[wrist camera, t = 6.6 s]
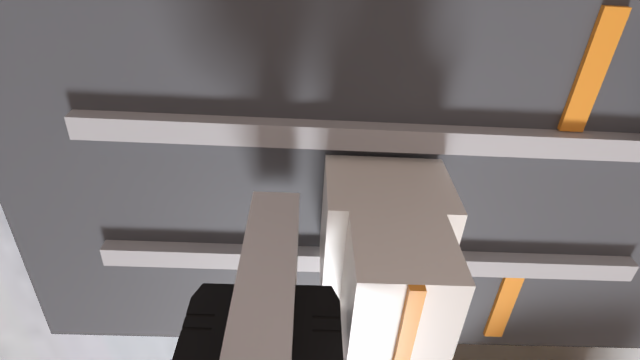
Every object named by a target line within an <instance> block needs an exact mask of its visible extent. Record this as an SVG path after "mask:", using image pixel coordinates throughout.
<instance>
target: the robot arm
mask: <svg viewBox="0 0 640 360" xmlns="http://www.w3.org/2000/svg"><path fill="white" fill-rule="evenodd" d="M299 199H300V193H284V192H256V191H253V195H252V200H251V205H250V210H249V215H248V220H247V225H246V230H245V235H244V240H243V245H242V250H241V255H240V260H239V265H238V270H237V275H236V280H235V284H214V283H203V284H202V285H201V286H200V287H199V288H198V290H197V291H196V292H195V293H194V294H193V295H192V297H191V299H190V302H189V306H188V309H187V312H186V317H185V319H184V322H183V326H182V331H181V332H180V336H179V339H178V342H177V346H176V349H175V352H174V355H173V359H172V360H343V344H342V327H341V310H340V300H339V298H338V296H337V294H336V293H335V291H334V289H333V287H332V286H321V285H296V283H297V262H298V232H299Z"/></svg>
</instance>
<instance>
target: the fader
mask: <svg viewBox="0 0 640 360" xmlns="http://www.w3.org/2000/svg"><path fill="white" fill-rule="evenodd" d="M467 216H468V215H467V213H466V210H465V208H464V206H463V204H462V202H461V200H460V197H459V195H458V193H457V191H456V189H455V187H454V185H453V182H452V180H451V178H450V176H449V174H448V172H447V169H446V167H445V165H444V163H443V161H442V159H424V158H399V157H373V156H348V155H325V170H324V185H323V200H322V215H321V230H320V285H321V286H332V287H333V289H334V291H335V293H336V294H337V296H338V298H339V300H340V310H341V327H342V344H343V360H452V359H453V356H454V353H455V350H456V347H457V344H458V341H459V337H460V334H461V331H462V328H463V325H464V322H465V319H466V316H467V313H468V310H469V306H470V303H471V300H472V297H473V294H474V291H475V288H476V285H475V283H474V280H473V278H472V275H471V273H470V270H469V268H468V265H467V263H466V260H465V258H464V256H463V253H462V251H461V248H460V246H459V245H460V242H461V238H462V234H463V231H464V227H465V224H466V220H467Z"/></svg>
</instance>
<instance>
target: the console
mask: <svg viewBox="0 0 640 360" xmlns="http://www.w3.org/2000/svg"><path fill="white" fill-rule="evenodd" d="M325 155H348V156H373V157H399V158H424V159H442V161H443V163H444V165H445V167H446V169H447V172H448V174H449V176H450V178H451V180H452V182H453V185H454V187H455V189H456V191H457V193H458V195H459V197H460V200H461V202H462V204H463V206H464V208H465V210H466V213H467V215H468V216H467V220H466V224H465V227H464V231H463V234H462V238H461V242H460V245H459V246H460V248H461V251H462V253H463V256H464V258H465V260H466V263H467V265H468V268H469V270H470V273H471V275H472V278H473V280H474V283H475V285H476V288H475V291H474V294H473V297H472V300H471V303H470V306H469V310H468V313H467V316H466V319H465V322H464V325H463V328H462V331H461V334H460V337H459V341H458V344H490V345H531V346H572V347H614V348H640V0H0V203H1V206H2V208H3V211H4V214H5V216H6V219H7V221H8V224H9V226H10V229H11V231H12V234H13V237H14V239H15V242H16V244H17V247H18V249H19V252H20V255H21V257H22V260H23V262H24V265H25V267H26V270H27V272H28V275H29V278H30V280H31V283H32V285H33V288H34V290H35V293H36V296H37V298H38V301H39V303H40V306H41V308H42V311H43V313H44V316H45V319H46V321H47V324H48V326H49V329H50V331H51V334H80V335H121V336H162V337H179V336H180V332H181V331H182V326H183V322H184V319H185V317H186V312H187V309H188V306H189V302H190V299H191V297H192V295H193V294H194V293H195V292H196V291H197V290H198V288H199V287H200V286H201V285H202V284H203V283H214V284H235V280H236V275H237V270H238V265H239V260H240V255H241V250H242V245H243V240H244V235H245V230H246V225H247V220H248V215H249V210H250V205H251V200H252V195H253V191H256V192H284V193H300V199H299V232H298V262H297V283H296V285H320V230H321V215H322V200H323V185H324V170H325Z"/></svg>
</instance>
